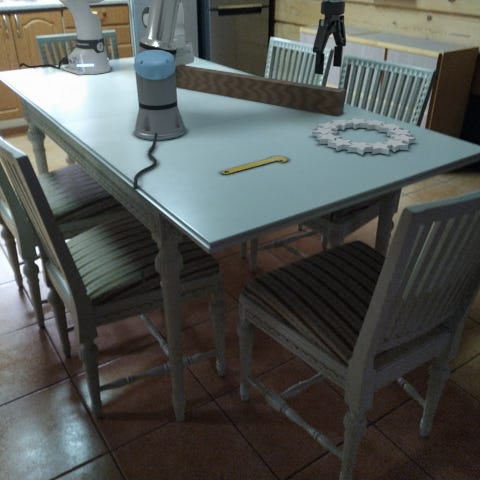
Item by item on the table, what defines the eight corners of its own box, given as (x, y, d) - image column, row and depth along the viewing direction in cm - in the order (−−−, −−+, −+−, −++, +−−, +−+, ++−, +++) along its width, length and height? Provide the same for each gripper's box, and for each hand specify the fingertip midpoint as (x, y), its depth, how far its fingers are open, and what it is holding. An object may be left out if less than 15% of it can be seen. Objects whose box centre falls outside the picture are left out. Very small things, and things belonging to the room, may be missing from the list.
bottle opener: (228, 177, 130) (290, 160, 140) (228, 176, 130) (290, 159, 139) (218, 171, 133) (279, 155, 143) (218, 170, 133) (279, 154, 143)
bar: (343, 113, 178) (345, 89, 174) (337, 116, 175) (339, 92, 171) (169, 82, 217) (167, 62, 213) (162, 84, 214) (160, 64, 210)
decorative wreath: (436, 145, 149) (370, 117, 173) (437, 140, 149) (371, 113, 172) (350, 162, 138) (293, 130, 162) (351, 156, 137) (293, 125, 161)
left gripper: (185, 37, 213) (186, 72, 220) (150, 45, 198) (153, 81, 205) (197, 39, 210) (198, 74, 217) (163, 46, 195) (165, 83, 202)
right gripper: (339, -4, 173) (334, 62, 184) (303, 3, 155) (300, 75, 166) (360, -3, 169) (353, 64, 180) (326, 4, 151) (321, 78, 162)
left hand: (176, 78), depth 211 cm, fingers closed on bar, 4 cm apart
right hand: (328, 70), depth 173 cm, fingers open, 13 cm apart
